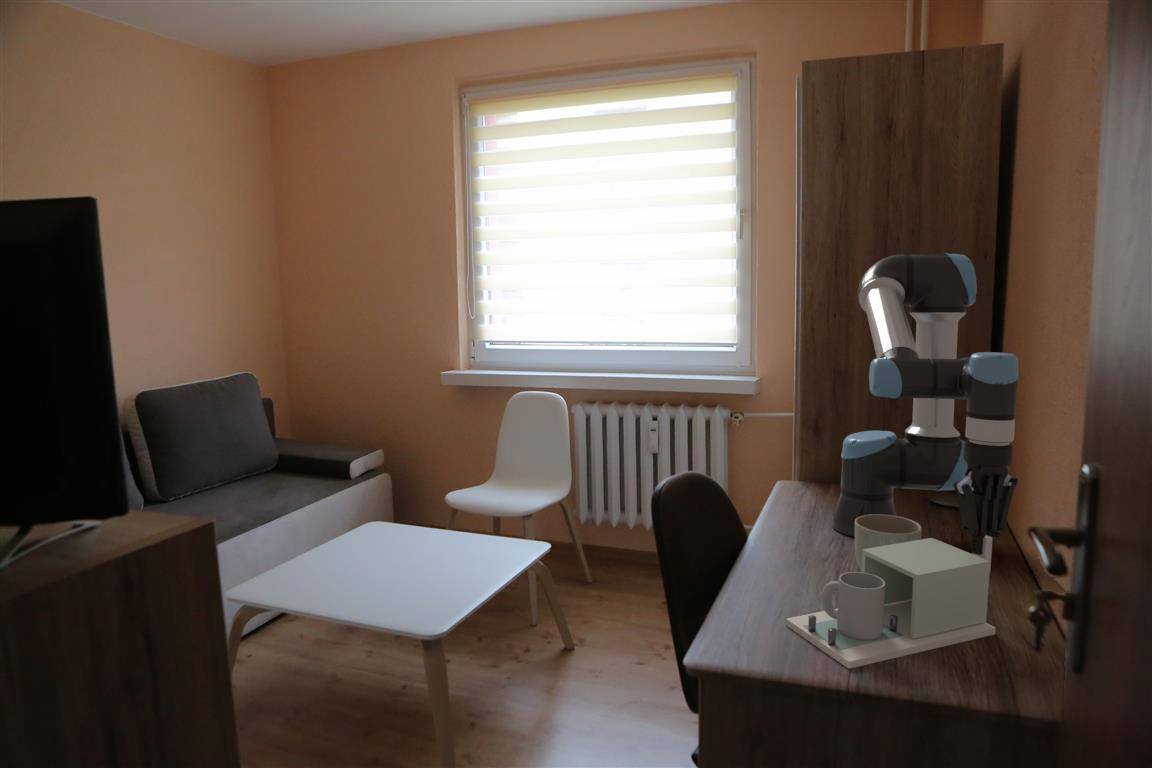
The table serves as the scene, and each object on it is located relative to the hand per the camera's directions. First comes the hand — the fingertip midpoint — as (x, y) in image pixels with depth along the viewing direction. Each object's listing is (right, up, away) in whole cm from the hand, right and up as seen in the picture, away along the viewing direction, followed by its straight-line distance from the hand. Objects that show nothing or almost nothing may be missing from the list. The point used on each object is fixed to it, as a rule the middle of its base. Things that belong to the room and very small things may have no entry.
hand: (980, 570), depth 136 cm
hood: (-12, -7, -3) cm, 14 cm away
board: (-19, -9, -6) cm, 22 cm away
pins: (-26, -8, -8) cm, 29 cm away
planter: (-10, -6, +18) cm, 21 cm away
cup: (-26, -8, -8) cm, 29 cm away
